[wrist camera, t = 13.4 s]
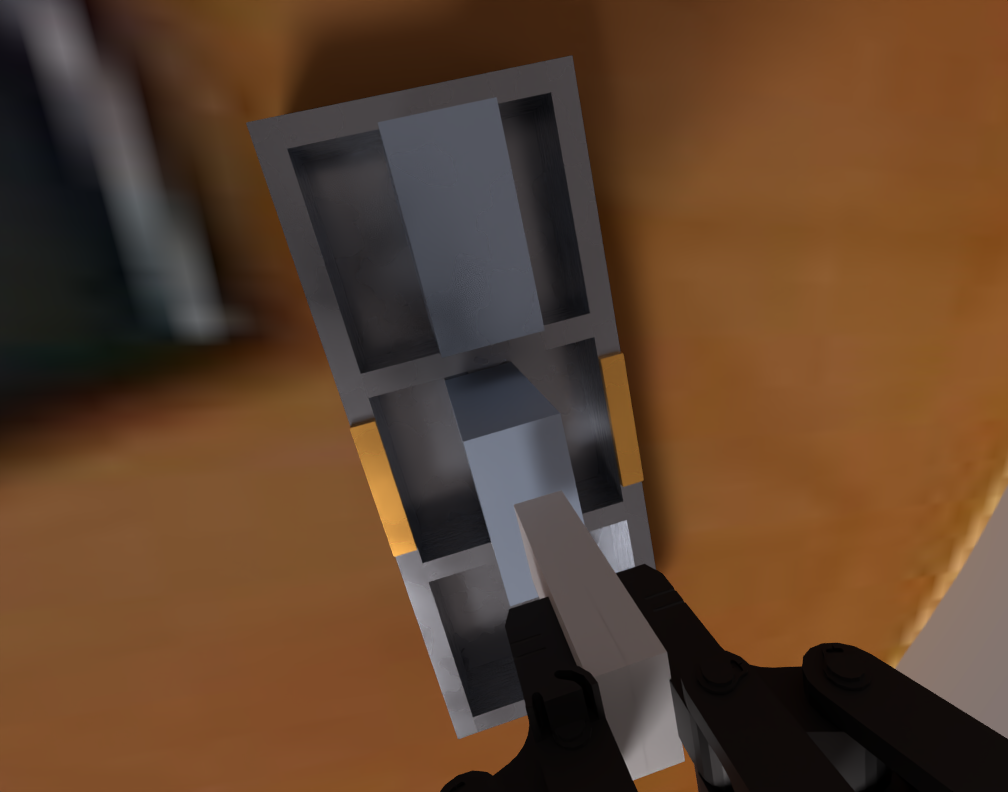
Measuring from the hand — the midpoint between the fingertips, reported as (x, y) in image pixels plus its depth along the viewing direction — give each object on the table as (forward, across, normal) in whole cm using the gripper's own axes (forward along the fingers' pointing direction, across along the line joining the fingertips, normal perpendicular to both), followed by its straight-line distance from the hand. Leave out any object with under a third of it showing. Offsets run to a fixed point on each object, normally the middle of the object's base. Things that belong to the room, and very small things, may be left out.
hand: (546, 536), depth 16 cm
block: (+10, 0, 0) cm, 10 cm away
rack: (+11, 0, 0) cm, 11 cm away
